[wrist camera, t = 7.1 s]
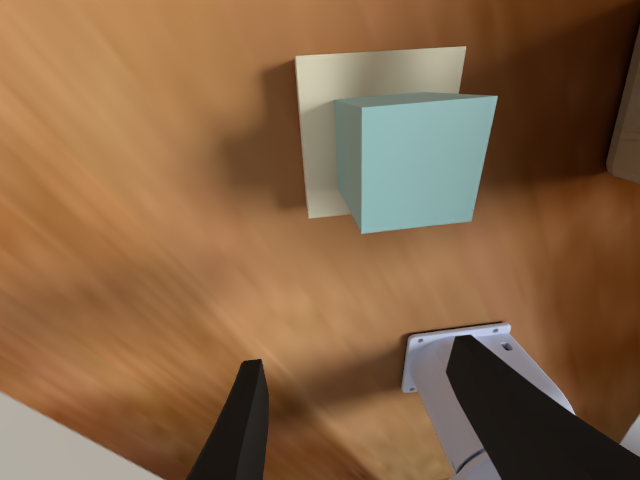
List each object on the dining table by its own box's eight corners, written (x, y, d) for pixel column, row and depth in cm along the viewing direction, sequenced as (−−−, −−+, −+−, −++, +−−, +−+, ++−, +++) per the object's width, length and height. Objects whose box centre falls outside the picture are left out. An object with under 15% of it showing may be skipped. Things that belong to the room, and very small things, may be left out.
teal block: (424, 92, 14) (497, 96, 9) (415, 180, 16) (471, 221, 11) (334, 99, 14) (361, 107, 9) (338, 188, 16) (361, 233, 11)
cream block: (445, 50, 15) (466, 46, 13) (426, 194, 19) (440, 205, 17) (294, 59, 14) (295, 56, 13) (306, 205, 18) (309, 218, 17)
